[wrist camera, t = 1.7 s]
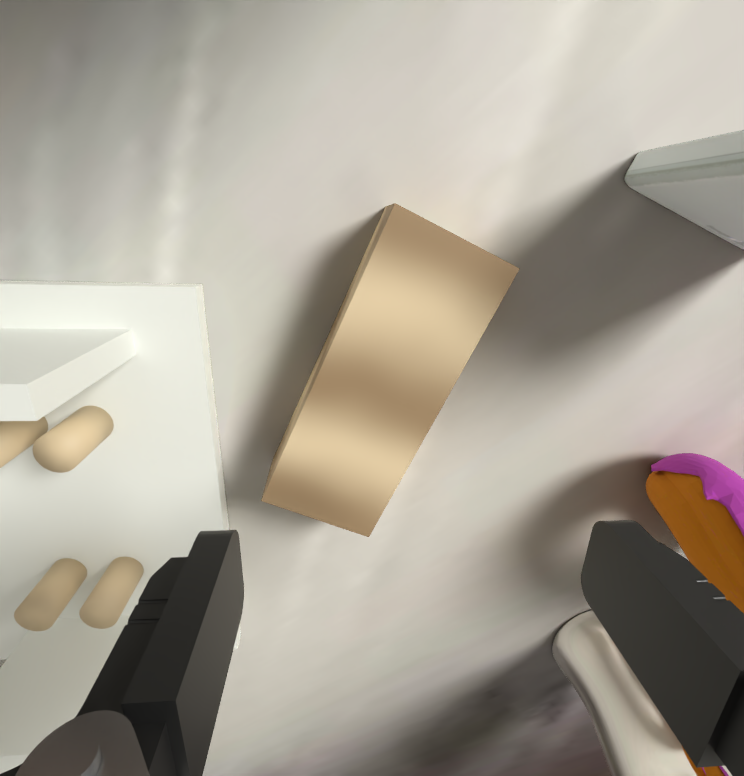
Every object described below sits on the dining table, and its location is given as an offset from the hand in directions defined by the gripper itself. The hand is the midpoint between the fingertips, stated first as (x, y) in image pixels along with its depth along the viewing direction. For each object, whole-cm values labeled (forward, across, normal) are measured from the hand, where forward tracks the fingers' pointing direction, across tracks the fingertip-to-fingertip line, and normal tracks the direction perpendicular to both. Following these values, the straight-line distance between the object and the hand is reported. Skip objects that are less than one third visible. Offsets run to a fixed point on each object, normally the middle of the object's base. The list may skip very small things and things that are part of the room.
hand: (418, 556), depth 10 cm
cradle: (+13, +15, +7) cm, 21 cm away
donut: (+13, -18, +8) cm, 24 cm away
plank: (+14, 0, 0) cm, 14 cm away
